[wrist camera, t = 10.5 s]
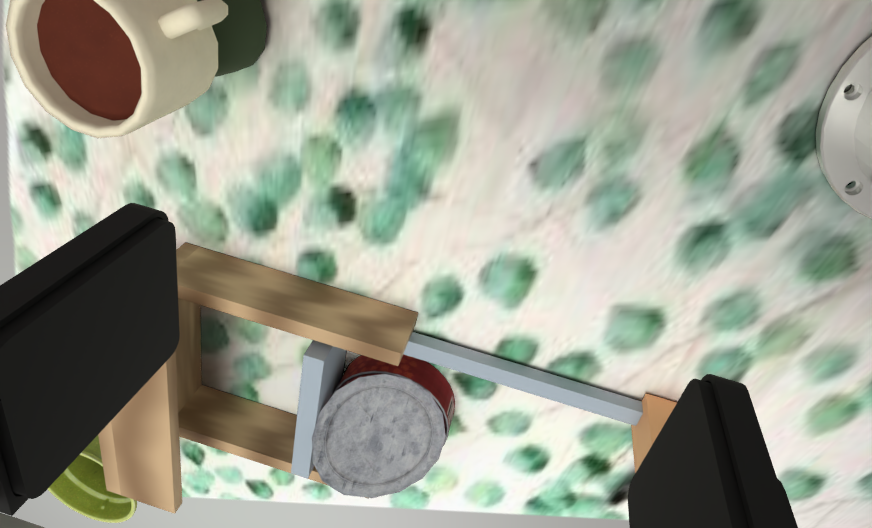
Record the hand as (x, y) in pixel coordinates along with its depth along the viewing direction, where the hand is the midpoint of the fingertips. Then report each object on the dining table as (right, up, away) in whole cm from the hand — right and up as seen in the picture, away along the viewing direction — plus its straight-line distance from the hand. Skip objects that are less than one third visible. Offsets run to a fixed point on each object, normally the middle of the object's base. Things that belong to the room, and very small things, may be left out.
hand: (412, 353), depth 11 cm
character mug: (-13, +17, +27) cm, 34 cm away
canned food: (-3, -9, +40) cm, 41 cm away
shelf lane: (-11, -6, +40) cm, 42 cm away
